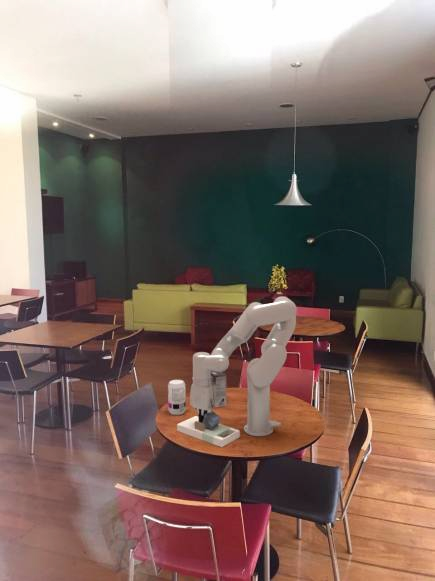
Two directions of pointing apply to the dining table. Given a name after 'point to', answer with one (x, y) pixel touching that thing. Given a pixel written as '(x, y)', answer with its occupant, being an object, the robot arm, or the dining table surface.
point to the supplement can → (176, 397)
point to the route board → (208, 432)
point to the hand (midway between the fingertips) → (202, 422)
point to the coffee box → (218, 388)
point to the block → (211, 420)
